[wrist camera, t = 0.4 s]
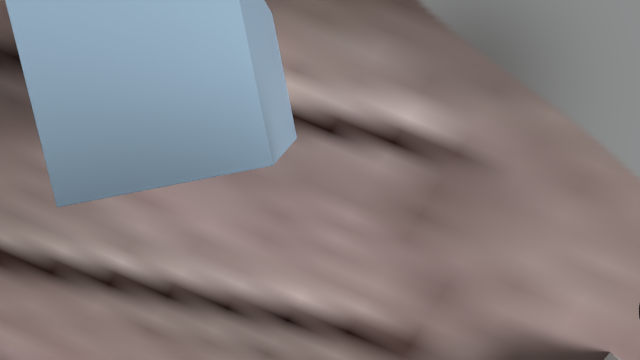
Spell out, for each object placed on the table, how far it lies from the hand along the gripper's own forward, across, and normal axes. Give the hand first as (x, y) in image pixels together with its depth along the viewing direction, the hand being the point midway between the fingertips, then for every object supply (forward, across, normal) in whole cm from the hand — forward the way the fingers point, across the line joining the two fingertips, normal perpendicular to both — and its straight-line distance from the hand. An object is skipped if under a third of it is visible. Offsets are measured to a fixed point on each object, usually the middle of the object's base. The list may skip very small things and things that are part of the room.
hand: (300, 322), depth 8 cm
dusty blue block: (+15, +3, +2) cm, 15 cm away
